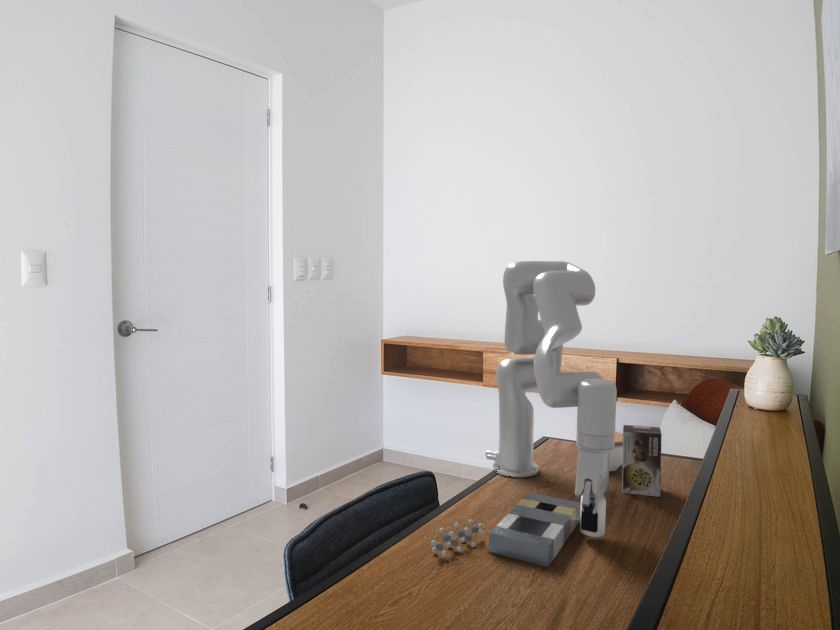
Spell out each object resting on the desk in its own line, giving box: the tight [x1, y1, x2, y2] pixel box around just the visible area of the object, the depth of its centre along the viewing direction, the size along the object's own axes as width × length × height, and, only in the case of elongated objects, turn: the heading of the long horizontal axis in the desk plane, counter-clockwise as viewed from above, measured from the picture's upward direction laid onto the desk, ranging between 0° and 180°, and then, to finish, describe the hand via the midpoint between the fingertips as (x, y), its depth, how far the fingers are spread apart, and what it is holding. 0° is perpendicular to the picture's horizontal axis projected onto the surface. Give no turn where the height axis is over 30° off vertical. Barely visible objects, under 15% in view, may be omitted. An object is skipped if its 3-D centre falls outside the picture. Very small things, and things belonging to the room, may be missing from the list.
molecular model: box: [430, 519, 484, 558], centre depth 118 cm, size 14×4×5 cm, turn 130°
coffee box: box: [621, 424, 663, 498], centre depth 148 cm, size 9×6×16 cm
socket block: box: [488, 492, 581, 568], centre depth 124 cm, size 12×24×4 cm, turn 151°
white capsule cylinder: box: [579, 494, 607, 538], centre depth 121 cm, size 5×5×7 cm
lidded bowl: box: [609, 431, 623, 472], centre depth 166 cm, size 13×13×11 cm
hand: (592, 524), depth 121 cm, fingers closed on white capsule cylinder, 5 cm apart
